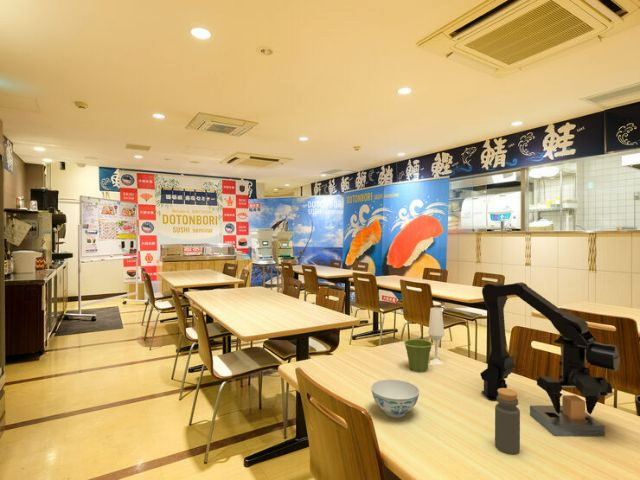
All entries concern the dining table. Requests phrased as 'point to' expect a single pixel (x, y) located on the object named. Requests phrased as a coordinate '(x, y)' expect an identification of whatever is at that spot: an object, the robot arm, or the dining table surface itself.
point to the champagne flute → (436, 330)
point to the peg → (573, 407)
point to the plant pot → (418, 353)
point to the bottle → (507, 422)
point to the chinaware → (395, 396)
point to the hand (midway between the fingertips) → (573, 413)
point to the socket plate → (565, 422)
